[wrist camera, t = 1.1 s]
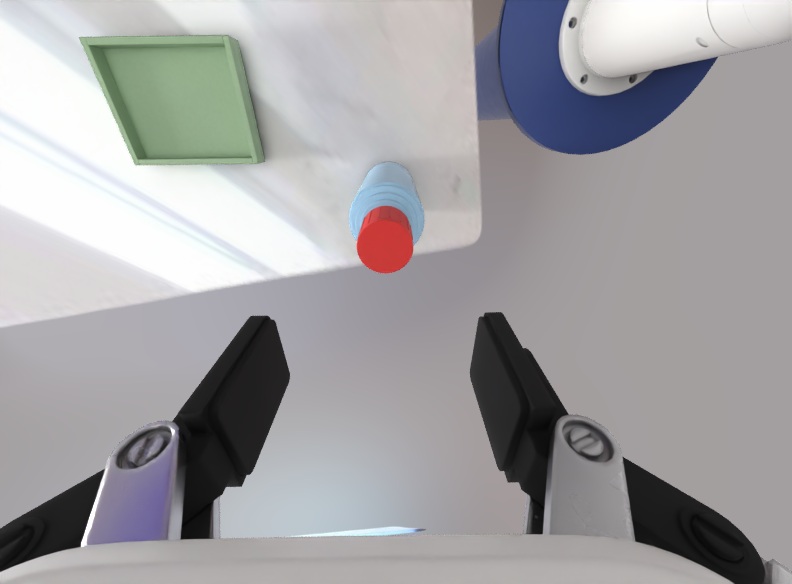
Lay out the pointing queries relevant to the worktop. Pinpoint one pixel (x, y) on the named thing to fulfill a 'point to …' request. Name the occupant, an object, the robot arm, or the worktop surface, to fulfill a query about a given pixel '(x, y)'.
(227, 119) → the tray
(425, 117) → the worktop surface
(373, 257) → the cap
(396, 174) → the water bottle
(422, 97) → the worktop surface
